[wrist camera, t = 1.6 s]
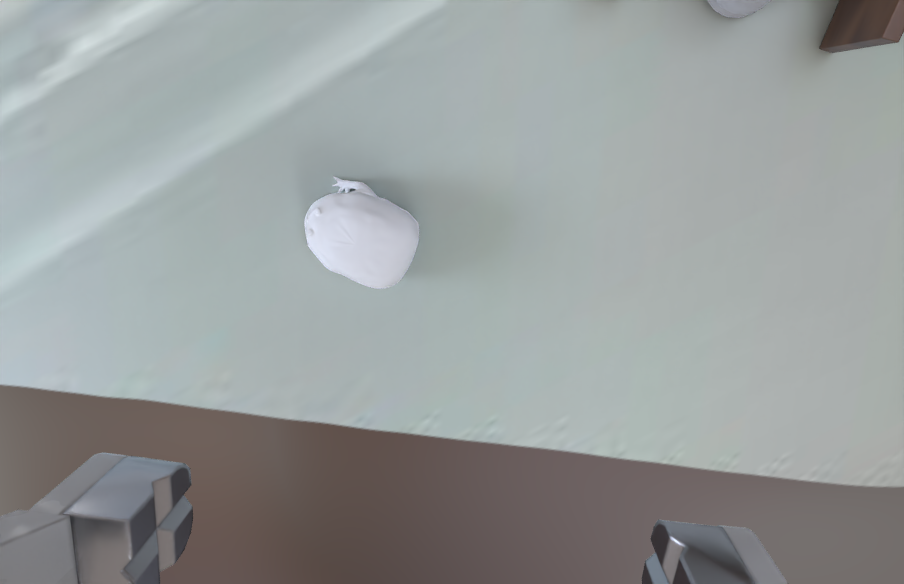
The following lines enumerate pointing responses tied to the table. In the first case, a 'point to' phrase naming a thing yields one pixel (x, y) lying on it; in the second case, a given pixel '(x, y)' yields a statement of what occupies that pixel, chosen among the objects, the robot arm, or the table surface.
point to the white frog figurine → (362, 235)
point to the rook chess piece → (737, 7)
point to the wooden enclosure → (864, 24)
